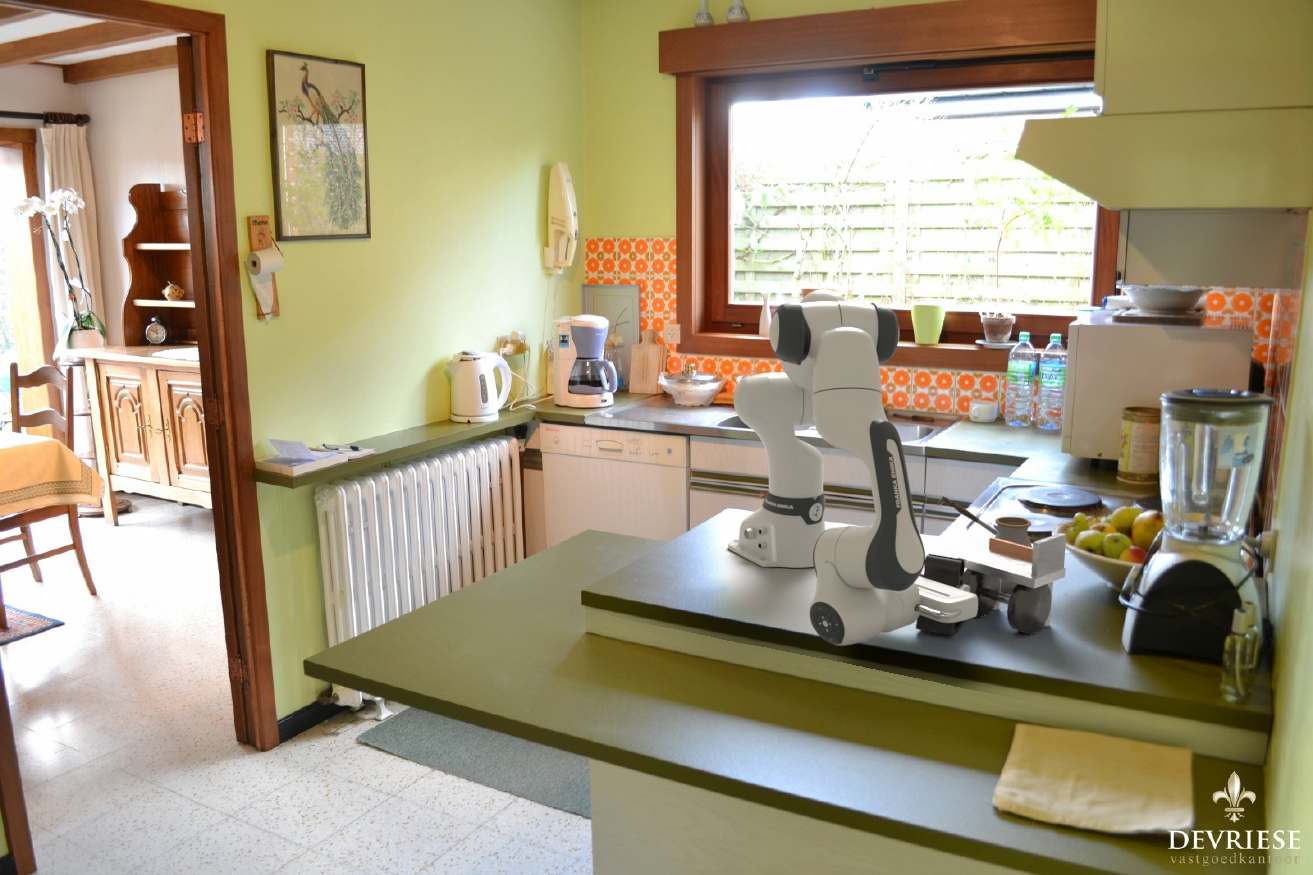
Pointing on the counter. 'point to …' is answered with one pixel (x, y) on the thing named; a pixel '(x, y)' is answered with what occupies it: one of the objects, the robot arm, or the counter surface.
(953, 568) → the phone stand
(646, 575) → the counter surface
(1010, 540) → the coffee pot
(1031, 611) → the trolley
